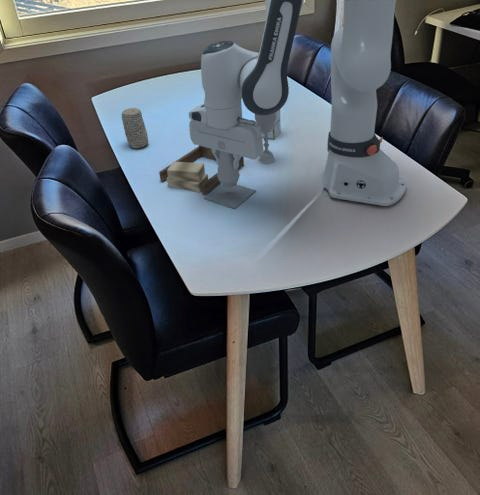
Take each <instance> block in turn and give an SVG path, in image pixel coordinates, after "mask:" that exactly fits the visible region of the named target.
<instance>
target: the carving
mask: <svg viewBox="0 0 480 495" xmlns="http://www.w3.org/2000/svg"><path fill="white" fill-rule="evenodd" d="M121 122H122V125H123V129H124V134H125V138H126V140H127V143H128V145H129V146H130V148H133V149H140V148H145V147H146V146H147V145H148V144H149V136H148V130H147V128H146V124H145V121H144V118H143V115H142V111H141V109H139V108H137V107H131V108H126V109H123V111H122V112H121Z"/></svg>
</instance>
